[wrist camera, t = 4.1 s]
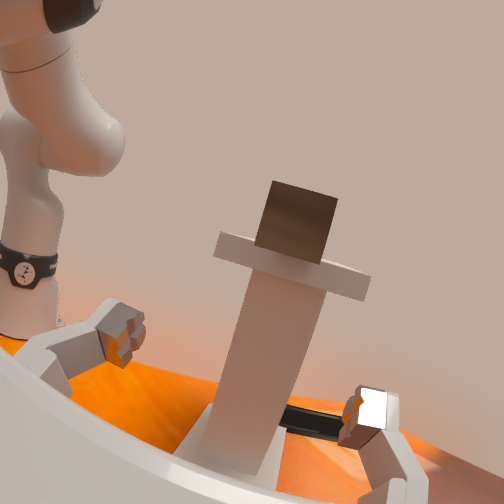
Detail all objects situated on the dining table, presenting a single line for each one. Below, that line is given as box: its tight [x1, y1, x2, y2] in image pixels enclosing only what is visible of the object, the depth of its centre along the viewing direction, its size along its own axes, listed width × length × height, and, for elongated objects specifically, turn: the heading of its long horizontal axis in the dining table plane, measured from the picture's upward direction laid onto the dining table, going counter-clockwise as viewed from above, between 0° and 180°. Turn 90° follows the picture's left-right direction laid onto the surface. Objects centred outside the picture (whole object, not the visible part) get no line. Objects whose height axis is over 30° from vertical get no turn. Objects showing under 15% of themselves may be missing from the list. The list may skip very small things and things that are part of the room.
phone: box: [278, 405, 344, 442], centre depth 46 cm, size 8×1×15 cm
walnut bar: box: [254, 181, 338, 265], centre depth 27 cm, size 26×3×3 cm, turn 168°
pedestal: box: [172, 231, 371, 490], centre depth 33 cm, size 18×12×26 cm, turn 168°
